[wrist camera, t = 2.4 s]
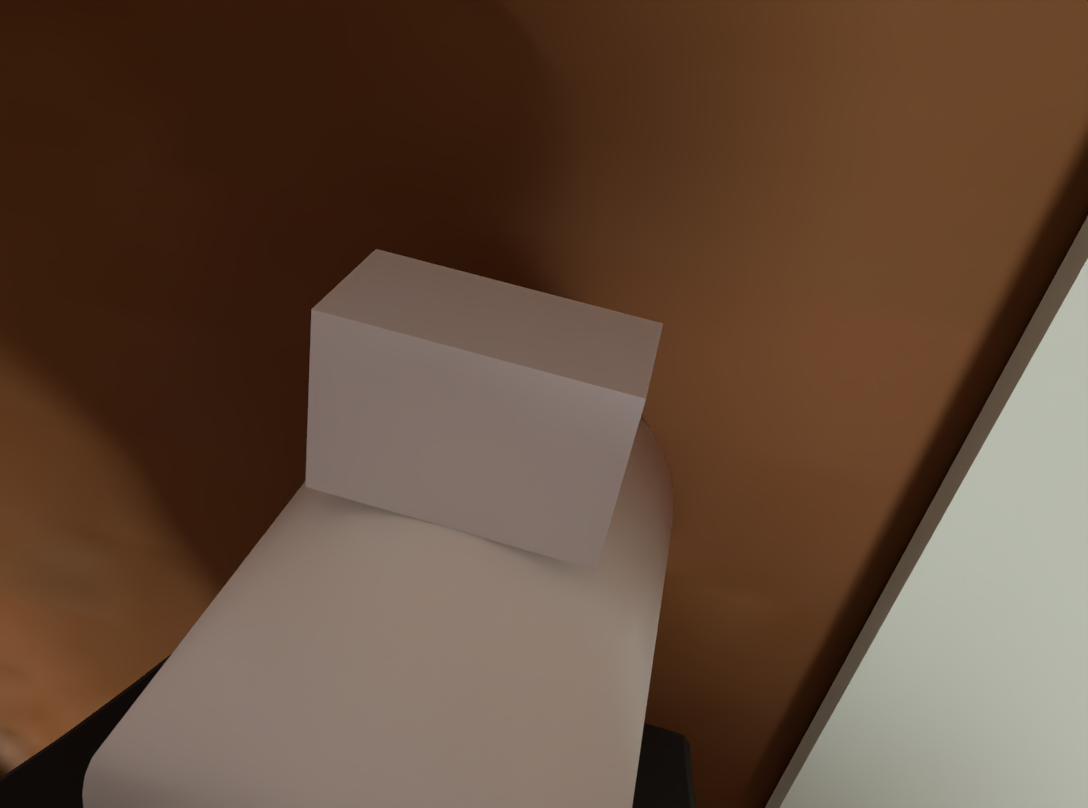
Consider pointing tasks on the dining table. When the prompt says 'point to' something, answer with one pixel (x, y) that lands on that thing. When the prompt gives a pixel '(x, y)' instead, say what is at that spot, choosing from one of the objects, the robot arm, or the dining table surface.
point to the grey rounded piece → (431, 572)
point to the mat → (980, 610)
